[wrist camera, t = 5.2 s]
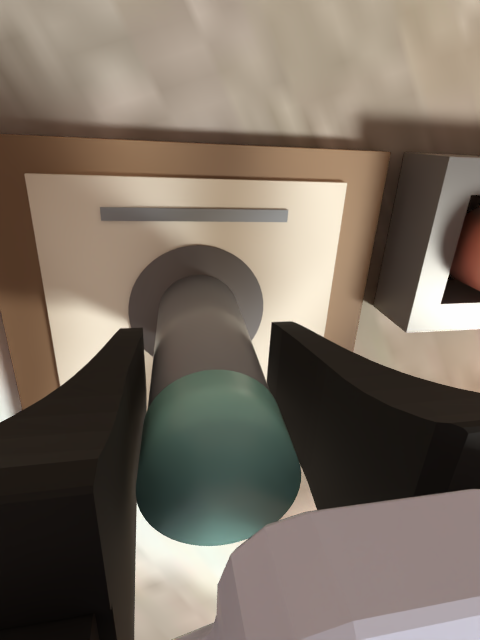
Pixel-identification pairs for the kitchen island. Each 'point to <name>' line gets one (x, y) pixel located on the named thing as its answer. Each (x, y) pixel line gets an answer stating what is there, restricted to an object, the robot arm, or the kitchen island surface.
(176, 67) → the kitchen island surface
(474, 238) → the button
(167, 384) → the marker
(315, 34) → the kitchen island surface
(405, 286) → the button housing
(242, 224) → the board
